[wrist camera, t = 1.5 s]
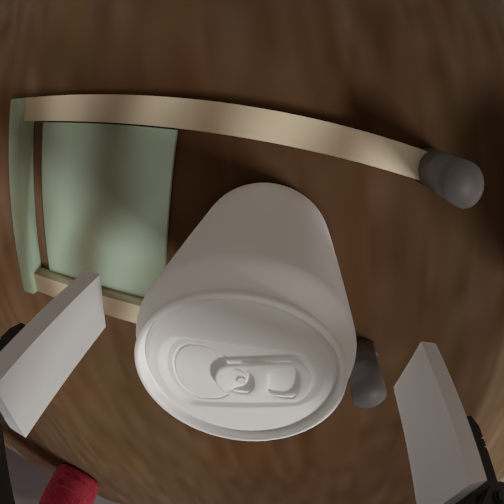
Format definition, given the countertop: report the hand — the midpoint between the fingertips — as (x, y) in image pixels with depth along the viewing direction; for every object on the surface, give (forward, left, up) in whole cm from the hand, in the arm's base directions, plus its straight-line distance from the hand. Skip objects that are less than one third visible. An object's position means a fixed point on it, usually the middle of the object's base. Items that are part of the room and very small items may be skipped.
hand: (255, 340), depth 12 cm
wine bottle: (-27, -58, -10) cm, 65 cm away
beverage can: (0, 0, -10) cm, 10 cm away
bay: (-5, 0, -10) cm, 11 cm away
